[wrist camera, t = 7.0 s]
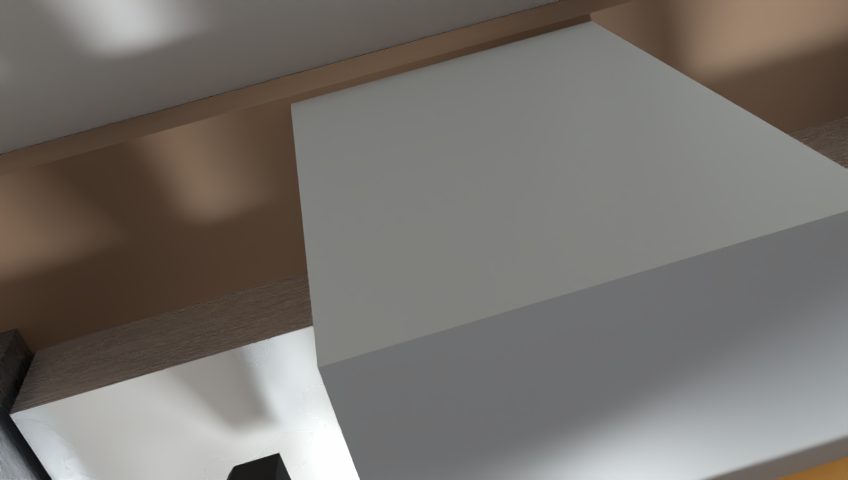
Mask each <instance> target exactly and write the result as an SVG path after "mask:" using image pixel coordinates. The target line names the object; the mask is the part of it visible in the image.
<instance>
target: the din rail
mask: <svg viewBox="0 0 848 480" xmlns="http://www.w3.org/2000/svg"><path fill="white" fill-rule="evenodd" d="M786 134H787V135H789V136H791V137H793V138H794V139H796V140H798V141H800V142H801V143H803V144H805V145H806V146H808V147H810V148H812V149H813V150H815V151H817V152H818V153H820V154H822V155H824V156H825V157H827V158H829V159H831V160H832V161H834V162H836V163H837V164H839V165H841V166H843V167H844V168H846V169H848V116H844V117H841V118H837V119H834V120H830V121H827V122H823V123H820V124H816V125H813V126H810V127H806V128H803V129H799V130H796V131H792V132H789V133H786ZM276 453H280V455H281V458H282V460H283V462H284V464H285V467H286V469H287V471H288V474H289V476H290V478H291V480H359V477H358V474H357V472H356V469H355V466H354V464H353V461H352V458H351V456H350V453H349V450H348V448H347V445H346V442H345V440H344V437H343V434H342V432H341V429H340V426H339V424H338V421H337V418H336V416H335V413H334V410H333V407H332V405H331V402H330V399H329V397H328V394H327V391H326V389H325V386H324V383H323V381H322V378H321V375H320V373H319V370H318V367H317V357H316V348H315V338H314V328H313V318H312V309H311V299H310V289H309V279H308V272H304V273H301V274H297V275H294V276H290V277H287V278H283V279H280V280H276V281H273V282H269V283H266V284H263V285H259V286H256V287H252V288H249V289H245V290H242V291H238V292H235V293H231V294H228V295H224V296H221V297H218V298H214V299H211V300H207V301H204V302H200V303H197V304H193V305H190V306H186V307H183V308H179V309H176V310H173V311H169V312H166V313H162V314H159V315H155V316H152V317H148V318H145V319H141V320H138V321H134V322H131V323H128V324H124V325H121V326H117V327H114V328H110V329H107V330H103V331H100V332H96V333H93V334H89V335H86V336H83V337H79V338H76V339H72V340H69V341H65V342H62V343H58V344H55V345H51V346H48V347H44V348H41V349H38V350H37V352H36V354H35V356H33V354H32V352H31V351H30V349H29V347H28V346H27V344H26V342H25V341H24V339H23V337H22V336H21V334H20V333H19V331H18V329H17V328H16V329H12V330H9V331H5V332H2V333H0V480H227V478H228V475H229V473H230V472H231V470H232V469H233V467H234V466H236V465H240V464H243V463H246V462H250V461H253V460H256V459H259V458H263V457H266V456H269V455H273V454H276Z"/></svg>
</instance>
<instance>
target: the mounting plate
mask: <svg viewBox="0 0 848 480" xmlns="http://www.w3.org/2000/svg"><path fill="white" fill-rule="evenodd" d="M589 21H593V22H595V23H596V24H598V25H600V26H602V27H603V28H605V29H607V30H608V31H610V32H612V33H614V34H615V35H617V36H619V37H621V38H622V39H624V40H626V41H627V42H629V43H631V44H633V45H634V46H636V47H638V48H639V49H641V50H643V51H645V52H646V53H648V54H650V55H651V56H653V57H655V58H657V59H658V60H660V61H662V62H664V63H665V64H667V65H669V66H670V67H672V68H674V69H676V70H677V71H679V72H681V73H682V74H684V75H686V76H688V77H689V78H691V79H693V80H695V81H696V82H698V83H700V84H701V85H703V86H705V87H707V88H708V89H710V90H712V91H713V92H715V93H717V94H719V95H720V96H722V97H724V98H726V99H727V100H729V101H731V102H732V103H734V104H736V105H738V106H739V107H741V108H743V109H744V110H746V111H748V112H750V113H751V114H753V115H755V116H756V117H758V118H760V119H762V120H763V121H765V122H767V123H769V124H770V125H772V126H774V127H775V128H777V129H779V130H781V131H782V132H784V133H789V132H792V131H796V130H799V129H803V128H806V127H810V126H813V125H816V124H820V123H823V122H827V121H830V120H834V119H837V118H841V117H844V116H848V0H562V1H559V2H555V3H551V4H548V5H544V6H540V7H537V8H533V9H530V10H526V11H522V12H519V13H515V14H511V15H508V16H504V17H500V18H497V19H493V20H489V21H486V22H482V23H478V24H475V25H471V26H468V27H464V28H460V29H457V30H453V31H449V32H446V33H442V34H438V35H435V36H431V37H427V38H424V39H420V40H417V41H413V42H409V43H406V44H402V45H398V46H395V47H391V48H387V49H384V50H380V51H376V52H373V53H369V54H365V55H362V56H358V57H355V58H351V59H347V60H344V61H340V62H336V63H333V64H329V65H325V66H322V67H318V68H314V69H311V70H307V71H303V72H300V73H296V74H293V75H289V76H285V77H282V78H278V79H274V80H271V81H267V82H263V83H260V84H256V85H252V86H249V87H245V88H242V89H238V90H234V91H231V92H227V93H223V94H220V95H216V96H212V97H209V98H205V99H201V100H198V101H194V102H190V103H187V104H183V105H180V106H176V107H172V108H169V109H165V110H161V111H158V112H154V113H150V114H147V115H143V116H139V117H136V118H132V119H128V120H125V121H121V122H118V123H114V124H110V125H107V126H103V127H99V128H96V129H92V130H88V131H85V132H81V133H77V134H74V135H70V136H67V137H63V138H59V139H56V140H52V141H48V142H45V143H41V144H37V145H34V146H30V147H26V148H23V149H19V150H15V151H12V152H8V153H5V154H1V155H0V333H2V332H5V331H9V330H12V329H16V328H17V329H18V331H19V333H20V334H21V336H22V337H23V339H24V341H25V342H26V344H27V346H28V347H29V349H30V351H31V352H32V354H33V356H35V354H36V352H37V350H38V349H41V348H44V347H48V346H51V345H55V344H58V343H62V342H65V341H69V340H72V339H76V338H79V337H83V336H86V335H89V334H93V333H96V332H100V331H103V330H107V329H110V328H114V327H117V326H121V325H124V324H128V323H131V322H134V321H138V320H141V319H145V318H148V317H152V316H155V315H159V314H162V313H166V312H169V311H173V310H176V309H179V308H183V307H186V306H190V305H193V304H197V303H200V302H204V301H207V300H211V299H214V298H218V297H221V296H224V295H228V294H231V293H235V292H238V291H242V290H245V289H249V288H252V287H256V286H259V285H263V284H266V283H269V282H273V281H276V280H280V279H283V278H287V277H290V276H294V275H297V274H301V273H304V272H308V269H307V260H306V250H305V240H304V230H303V221H302V211H301V201H300V191H299V181H298V172H297V162H296V152H295V142H294V133H293V123H292V113H291V104H292V103H295V102H299V101H303V100H306V99H310V98H313V97H317V96H321V95H324V94H328V93H332V92H335V91H339V90H342V89H346V88H350V87H353V86H357V85H361V84H364V83H368V82H371V81H375V80H379V79H382V78H386V77H390V76H393V75H397V74H400V73H404V72H408V71H411V70H415V69H419V68H422V67H426V66H429V65H433V64H437V63H440V62H444V61H448V60H451V59H455V58H458V57H462V56H466V55H469V54H473V53H477V52H480V51H484V50H487V49H491V48H495V47H498V46H502V45H506V44H509V43H513V42H516V41H520V40H524V39H527V38H531V37H535V36H538V35H542V34H545V33H549V32H553V31H556V30H560V29H564V28H567V27H571V26H574V25H578V24H582V23H585V22H589Z"/></svg>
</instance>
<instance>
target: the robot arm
mask: <svg viewBox="0 0 848 480" xmlns="http://www.w3.org/2000/svg"><path fill="white" fill-rule="evenodd" d="M227 480H291V478H290V476H289V474H288V471H287V469H286V467H285V464H284V462H283V460H282V458H281V455H280V453H276V454H273V455H269V456H266V457H263V458H259V459H256V460H253V461H250V462H246V463H243V464H240V465H236V466H234V467H233V469H232V470H231V472H230V473H229V475H228V478H227Z"/></svg>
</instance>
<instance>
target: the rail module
mask: <svg viewBox="0 0 848 480" xmlns="http://www.w3.org/2000/svg"><path fill="white" fill-rule="evenodd" d="M291 113H292V123H293V133H294V142H295V152H296V162H297V172H298V181H299V191H300V201H301V211H302V221H303V230H304V240H305V250H306V260H307V269H308V279H309V289H310V299H311V309H312V318H313V328H314V338H315V348H316V357H317V367H318V370H319V373H320V375H321V378H322V381H323V383H324V386H325V389H326V391H327V394H328V397H329V399H330V402H331V405H332V407H333V410H334V413H335V416H336V418H337V421H338V424H339V426H340V429H341V432H342V434H343V437H344V440H345V442H346V445H347V448H348V450H349V453H350V456H351V458H352V461H353V464H354V466H355V469H356V472H357V474H358V477H359V480H848V169H846V168H844V167H843V166H841V165H839V164H837V163H836V162H834V161H832V160H831V159H829V158H827V157H825V156H824V155H822V154H820V153H818V152H817V151H815V150H813V149H812V148H810V147H808V146H806V145H805V144H803V143H801V142H800V141H798V140H796V139H794V138H793V137H791V136H789V135H787V134H786V133H784V132H782V131H781V130H779V129H777V128H775V127H774V126H772V125H770V124H769V123H767V122H765V121H763V120H762V119H760V118H758V117H756V116H755V115H753V114H751V113H750V112H748V111H746V110H744V109H743V108H741V107H739V106H738V105H736V104H734V103H732V102H731V101H729V100H727V99H726V98H724V97H722V96H720V95H719V94H717V93H715V92H713V91H712V90H710V89H708V88H707V87H705V86H703V85H701V84H700V83H698V82H696V81H695V80H693V79H691V78H689V77H688V76H686V75H684V74H682V73H681V72H679V71H677V70H676V69H674V68H672V67H670V66H669V65H667V64H665V63H664V62H662V61H660V60H658V59H657V58H655V57H653V56H651V55H650V54H648V53H646V52H645V51H643V50H641V49H639V48H638V47H636V46H634V45H633V44H631V43H629V42H627V41H626V40H624V39H622V38H621V37H619V36H617V35H615V34H614V33H612V32H610V31H608V30H607V29H605V28H603V27H602V26H600V25H598V24H596V23H595V22H593V21H589V22H585V23H582V24H578V25H574V26H571V27H567V28H564V29H560V30H556V31H553V32H549V33H545V34H542V35H538V36H535V37H531V38H527V39H524V40H520V41H516V42H513V43H509V44H506V45H502V46H498V47H495V48H491V49H487V50H484V51H480V52H477V53H473V54H469V55H466V56H462V57H458V58H455V59H451V60H448V61H444V62H440V63H437V64H433V65H429V66H426V67H422V68H419V69H415V70H411V71H408V72H404V73H400V74H397V75H393V76H390V77H386V78H382V79H379V80H375V81H371V82H368V83H364V84H361V85H357V86H353V87H350V88H346V89H342V90H339V91H335V92H332V93H328V94H324V95H321V96H317V97H313V98H310V99H306V100H303V101H299V102H295V103H292V104H291Z"/></svg>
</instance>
